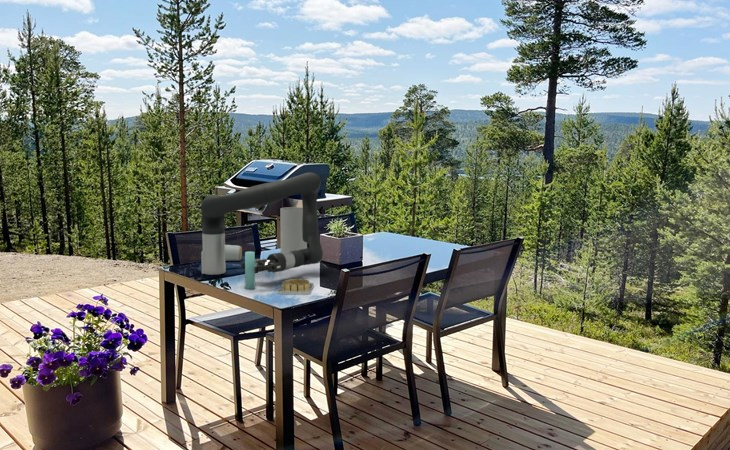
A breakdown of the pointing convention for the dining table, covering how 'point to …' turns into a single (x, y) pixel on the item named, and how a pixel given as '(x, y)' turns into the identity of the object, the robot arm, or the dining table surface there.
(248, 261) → the pin
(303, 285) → the golden segmented cake
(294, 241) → the cylinder vase
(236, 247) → the ceramic mug
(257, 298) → the dining table surface
